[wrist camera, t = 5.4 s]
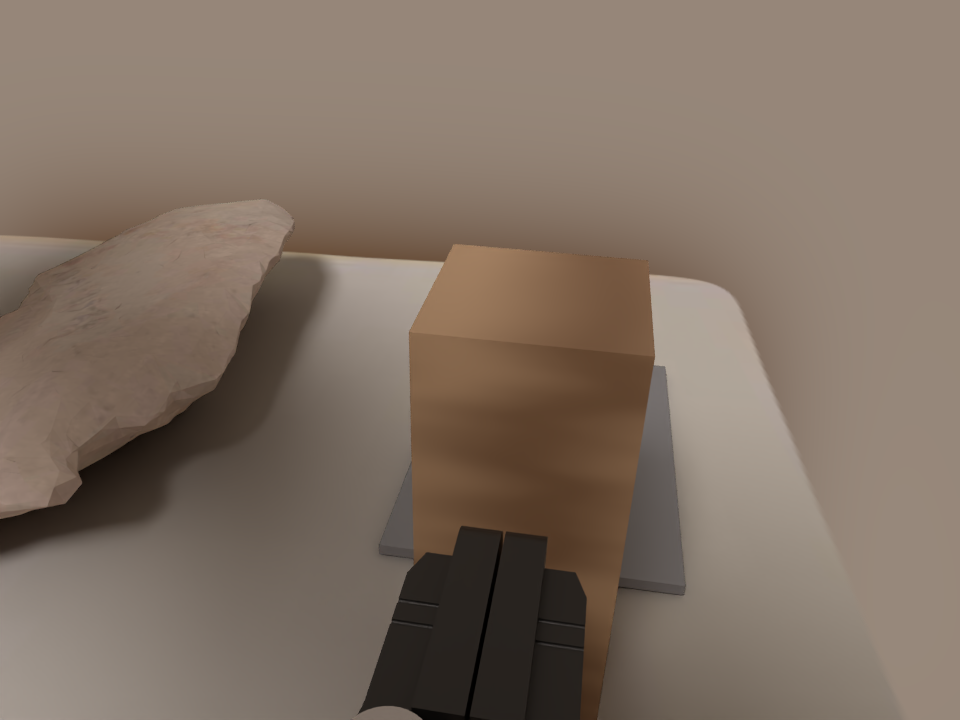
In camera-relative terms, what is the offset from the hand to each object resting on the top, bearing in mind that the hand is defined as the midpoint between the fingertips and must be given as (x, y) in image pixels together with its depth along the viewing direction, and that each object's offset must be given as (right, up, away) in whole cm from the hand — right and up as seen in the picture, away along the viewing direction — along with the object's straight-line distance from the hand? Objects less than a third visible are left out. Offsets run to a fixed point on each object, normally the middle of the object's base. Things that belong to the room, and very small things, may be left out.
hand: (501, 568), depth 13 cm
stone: (-16, +2, +21) cm, 27 cm away
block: (+1, -5, +9) cm, 10 cm away
